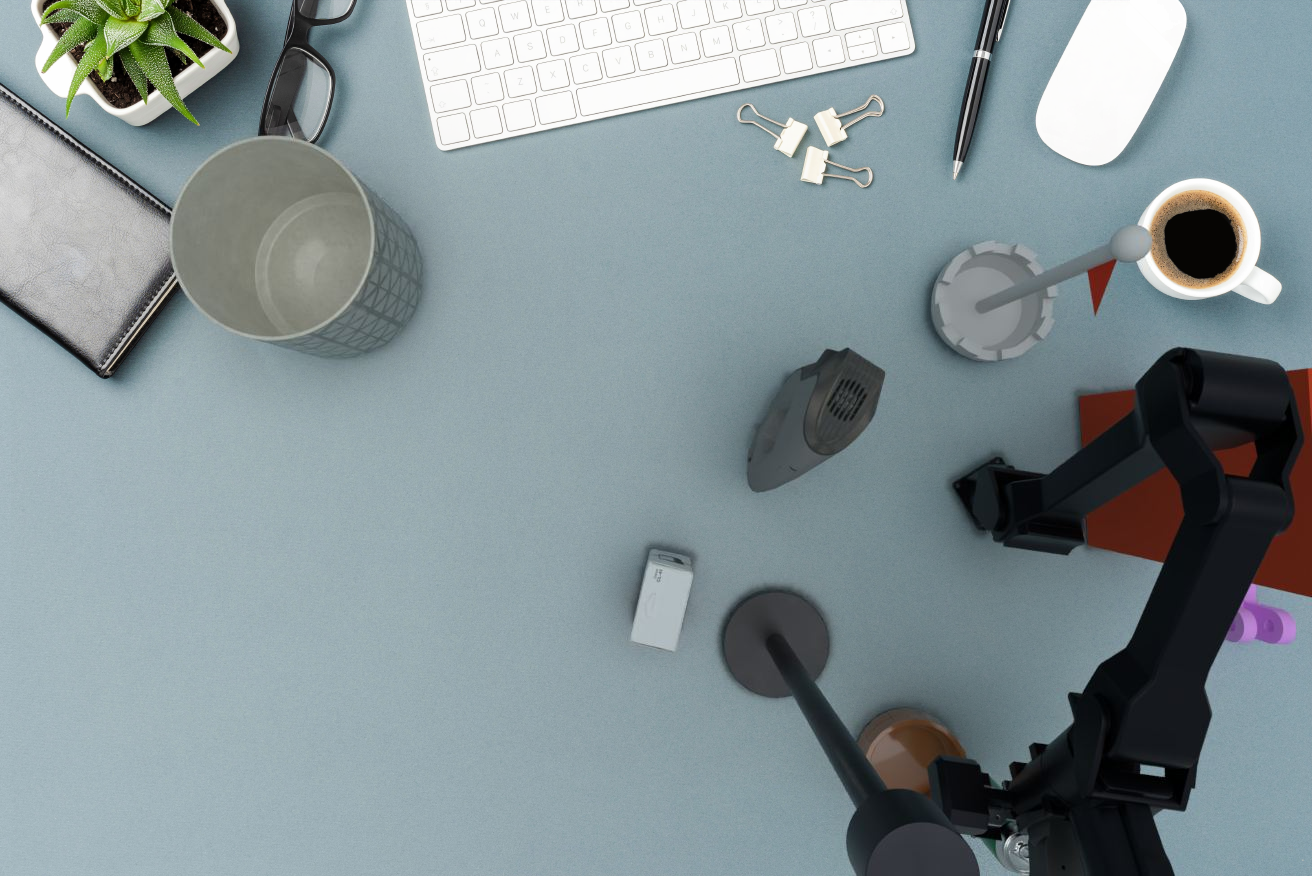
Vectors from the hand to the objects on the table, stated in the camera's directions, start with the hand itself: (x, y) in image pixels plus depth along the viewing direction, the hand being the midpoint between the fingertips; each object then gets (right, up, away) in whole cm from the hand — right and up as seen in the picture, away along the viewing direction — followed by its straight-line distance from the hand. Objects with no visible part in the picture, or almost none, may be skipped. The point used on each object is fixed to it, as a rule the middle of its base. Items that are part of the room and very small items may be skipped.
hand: (998, 836), depth 76 cm
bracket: (+32, +23, +13) cm, 42 cm away
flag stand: (+4, +54, +14) cm, 56 cm away
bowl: (-5, +3, +13) cm, 14 cm away
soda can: (0, +1, +7) cm, 7 cm away
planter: (-69, +58, +13) cm, 91 cm away
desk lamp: (-20, +16, +13) cm, 29 cm away
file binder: (+19, +36, +13) cm, 43 cm away
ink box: (-33, +22, +13) cm, 42 cm away
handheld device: (-18, +40, +13) cm, 46 cm away
